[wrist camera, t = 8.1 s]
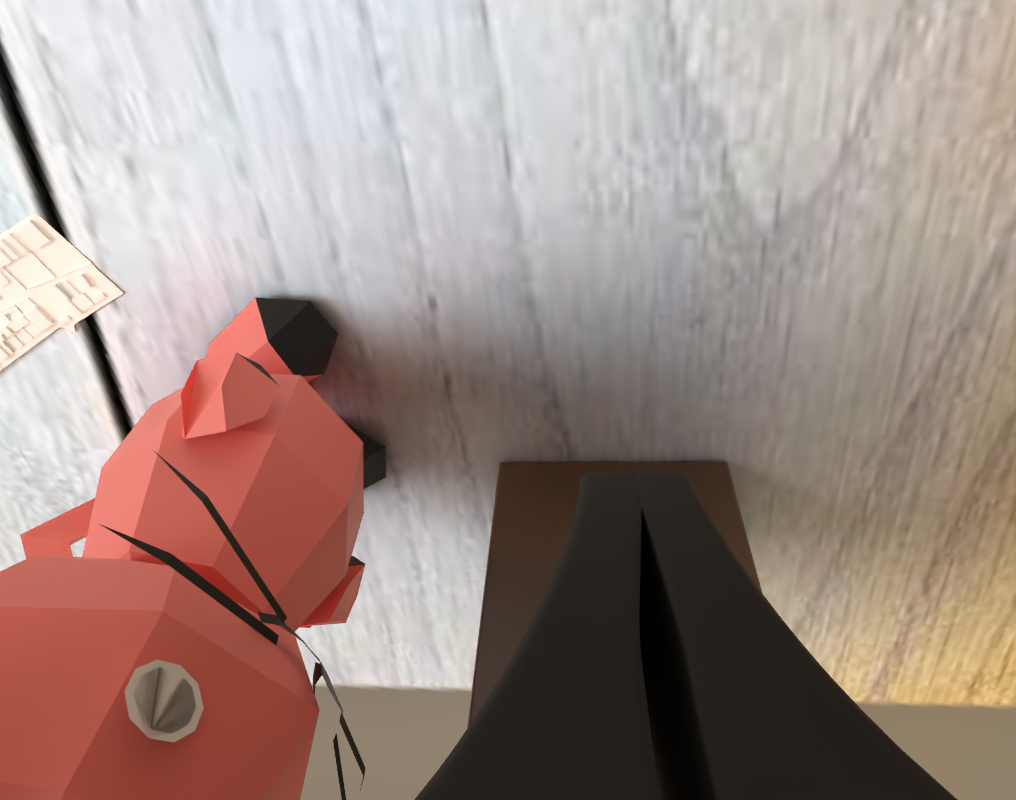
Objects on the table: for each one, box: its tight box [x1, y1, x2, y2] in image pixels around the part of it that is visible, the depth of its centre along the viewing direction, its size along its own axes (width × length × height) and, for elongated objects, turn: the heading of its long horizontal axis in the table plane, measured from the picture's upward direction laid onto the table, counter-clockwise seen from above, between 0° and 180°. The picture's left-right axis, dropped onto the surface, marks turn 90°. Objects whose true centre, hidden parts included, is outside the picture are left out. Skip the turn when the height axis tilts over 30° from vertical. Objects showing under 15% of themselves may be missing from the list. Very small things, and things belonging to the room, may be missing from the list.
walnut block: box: [467, 462, 762, 729], centre depth 16 cm, size 2×5×7 cm, turn 93°
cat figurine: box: [0, 298, 386, 800], centre depth 12 cm, size 7×7×12 cm
